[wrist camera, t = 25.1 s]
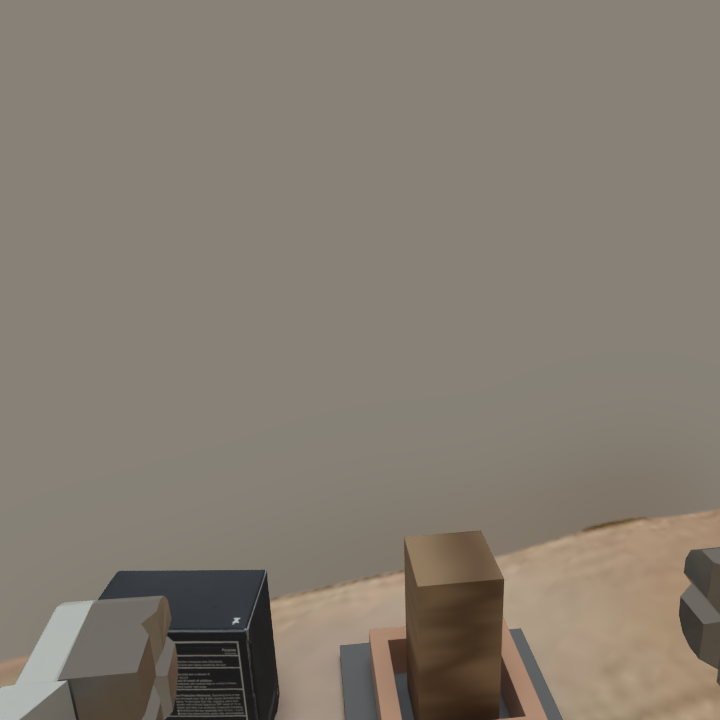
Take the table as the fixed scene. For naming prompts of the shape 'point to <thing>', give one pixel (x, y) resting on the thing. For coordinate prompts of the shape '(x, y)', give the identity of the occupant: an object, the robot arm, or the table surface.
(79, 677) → the robot arm
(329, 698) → the table surface
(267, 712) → the small box
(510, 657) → the dock
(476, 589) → the walnut block
